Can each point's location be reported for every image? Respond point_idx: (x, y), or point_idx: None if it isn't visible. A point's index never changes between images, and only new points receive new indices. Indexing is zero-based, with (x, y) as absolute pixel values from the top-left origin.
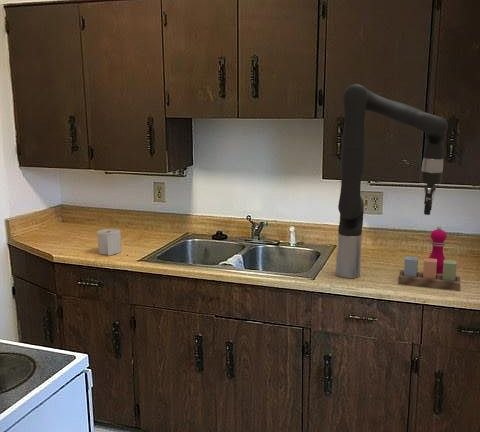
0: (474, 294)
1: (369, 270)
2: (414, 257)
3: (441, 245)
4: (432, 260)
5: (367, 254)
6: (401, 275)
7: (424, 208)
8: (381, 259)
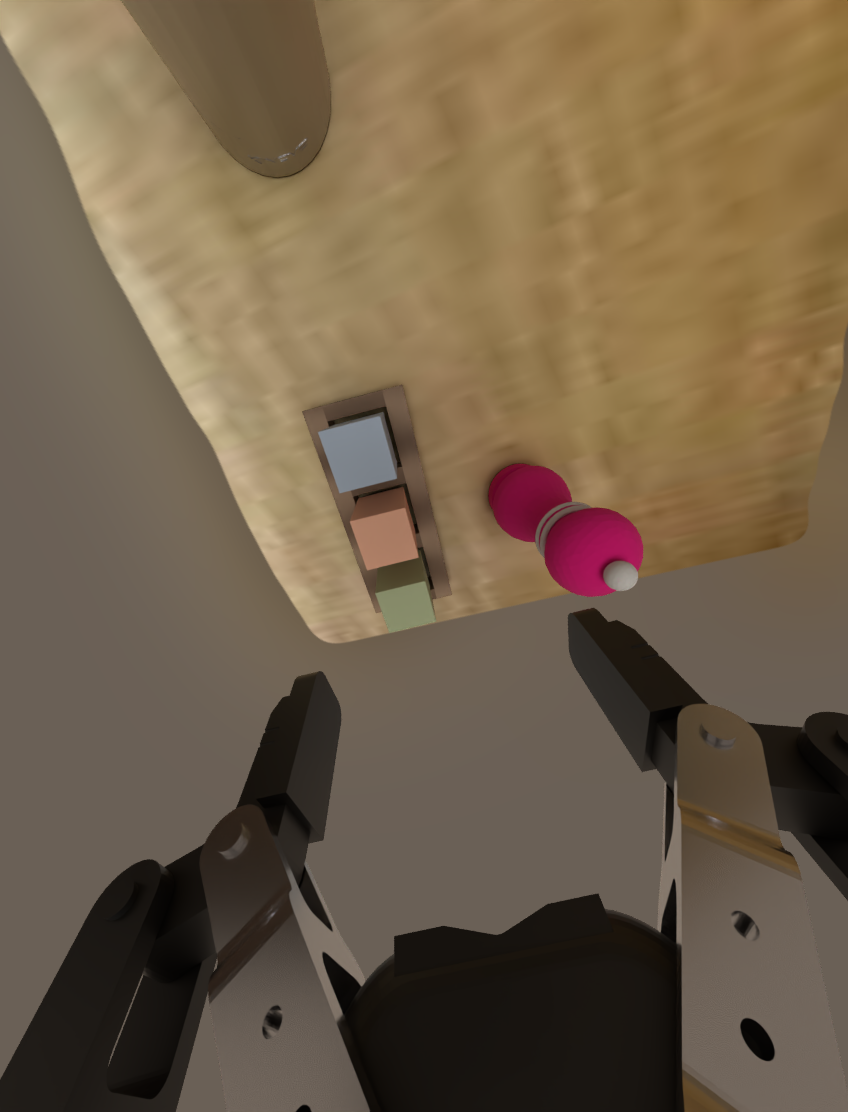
0: (374, 633)
1: (413, 189)
2: (383, 464)
3: (543, 556)
4: (384, 548)
5: (727, 10)
6: (325, 416)
7: (275, 739)
8: (639, 171)
